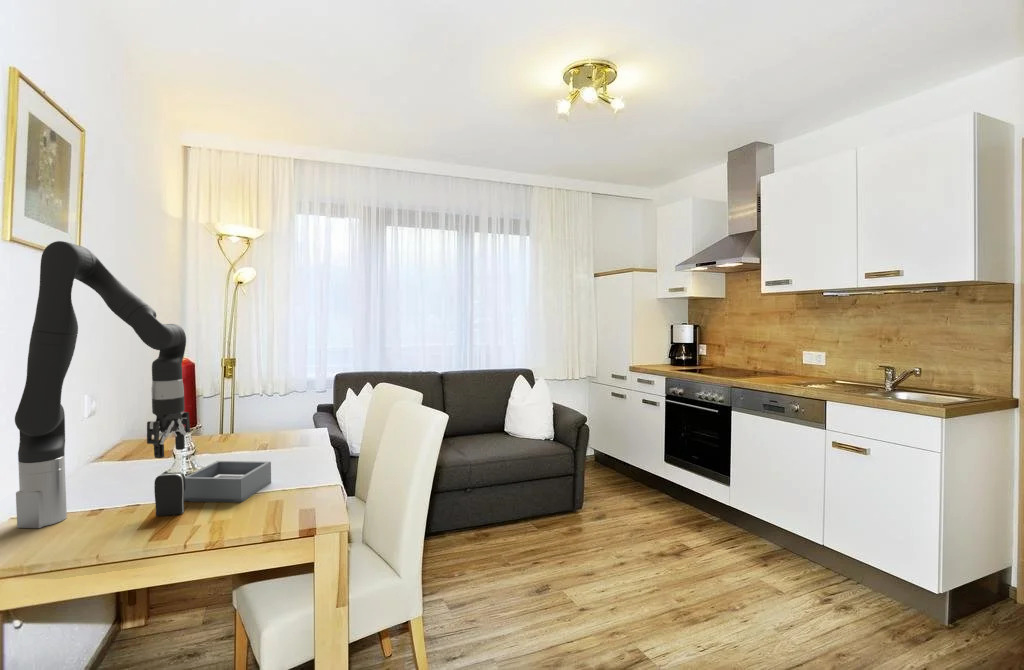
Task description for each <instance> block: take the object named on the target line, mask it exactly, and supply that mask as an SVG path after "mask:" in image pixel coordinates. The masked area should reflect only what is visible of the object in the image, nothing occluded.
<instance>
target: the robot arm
mask: <svg viewBox="0 0 1024 670" xmlns="http://www.w3.org/2000/svg"><path fill="white" fill-rule="evenodd" d="M39 265H40V266H39V267H40V269H39V290H38V297H37V302H36V308H35V315H34V320H33V325H32V329H31V333H30V339H29V344H28V345H29V346H28V355H27V364H26V365H27V366H26V378H25V384H24V385H25V386H24V387H23V388H24V389H23V392H22V395H21V398H20V401H19V404H18V407H17V408H16V409H17V410H16V413H15V415H14V423H15V427H16V428H17V429H18V430H19V444H18V451H17V460H18V487H19V490H17V491H16V492H15V504H16V505H15V508H16V528H18V529H19V528H20V529H42V528H43V527H47V526H50V525H54V524H58V523H60V522H62V521H64V520H65V519H67V517H68V511H67V508H68V507H67V486H66V484H67V483H66V462H65V461H66V459H65V458H66V456H65V455H66V454H65V450H66V449H65V448H66V447H65V446H66V417H65V416H66V414H65V409H64V407H63V405H62V403H61V401H62V392H63V385H64V381H65V378H66V375H67V373H68V370H69V368H70V365H71V362H72V360H73V357H74V353H75V351H76V349H75V348H76V345H77V344H76V343H77V340H78V334H79V333H78V332H79V324H78V320H77V315H76V312H75V309H74V305H73V302H72V293H73V292H72V290H73V284H74V281H75V279H76V281H79V282H81V283H83V284H84V285H85V286H87V287H89V288H91V289H92V290H93V291H95V292H96V293H97V294H98V296H100V298H102V300H103V301H104V303H105V305H106V306H107V307H108V308H109V309H110V310H111V311H112V312H113V313H114V315H116V316H117V317H118V318H119V319H120V320H122V321H123V322H125V323H126V324H127V325H128V326H129V327H131V328H132V329H133V331H134V332H135V334H136V335H137V336H138V338H140V340H141V342H142V343H143V344H145V345H146V346H147V347H149V348H151V349H153V350H156V351H159V353H158V357H157V358H156V359H154V360H153V361H152V364H151V382H152V383H151V409H152V410H151V412H152V414H153V415H155V416H156V418H155V421H147V423H146V444H148V445H152V446H153V455H154V458H155V459H163V458H165V444H164V443H165V440H166V438H167V437H169V435H170V434H171V433H174V435H175V438H174V439H175V440H174V441H175V442H174V443H175V449H176V451H177V450H179V451H181V450H182V451H183V450H184V449H185V447H186V446H185V445H186V444H185V443H186V442H185V441H186V440H185V439H186V435H187V433H190V432H191V424H190V412H189V411H185V409H186V408H185V387H184V386H185V385H184V382H183V365H182V363H183V360H184V356H185V351H186V346H187V335H186V332H185V330H184V329H183V327H181V326H180V325H179V324H176V323H162V322H161V321H160V320H158V319H157V313H156V311H155V310H154V309H153V308H152V307H151V306H150V305H148V304H147V303H146V302H145V301H144V300H143V299H141V297H139V296H138V295H136V294H135V293H134V292H133V291H131V290H130V289H129V288H127V286H126V285H124V284H123V283H122V282H120V280H119V279H117V277H115V276H114V274H112V272H111V271H110V270H109V269H108V268H107V267H106V266H105V265H104V264H103V262H101V260H100V259H99V258H98V256H96V255H95V254H94V253H93V252H92V250H90V249H88V248H86V247H85V246H82V245H79V244H78V245H77V244H74V243H72V242H69V241H68V242H67V241H63V240H57V241H54V242H51V243H49V244H48V245H47V246H46V247H45V248H44V249H43V252H42V254H41V258H40V264H39ZM152 437H153V438H152Z"/></svg>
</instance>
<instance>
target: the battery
mask: <svg viewBox="0 0 1024 670" xmlns="http://www.w3.org/2000/svg"><path fill="white" fill-rule="evenodd" d="M185 476H186V475H185V474H184V473H182V472H166V473H161V474H159V475H157V476H156V477H155V479H154V487H153V488H154V501H155V516H156V517H165V516H166V517H167V516H176V515H182V514H183V513H184V512H185V504H184V503H185V501H184V490H185Z"/></svg>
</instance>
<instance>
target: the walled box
mask: <svg viewBox="0 0 1024 670" xmlns="http://www.w3.org/2000/svg"><path fill="white" fill-rule="evenodd" d="M184 476H185V490H184V502H186V501H189V502H192V503H193V502H195V503H196V502H198V503H200V502H201V503H203V502H204V503H243V502H245V501H246V500H247V499H249V498H251V497H252V496H253V495H255V494H256V493H258V492H259V491H260V490H263V489H264V488H265V487H267V486H268V485H269V484H272V462H271V461H256V460H255V461H249V460H244V461H243V460H216V461H215V462H213V463H211V464H208V465H206V466H204V467H202V468H200V469H198V470H195V471H193V472H192V473H189V474H188V475H184ZM189 502H188V503H189Z"/></svg>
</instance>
